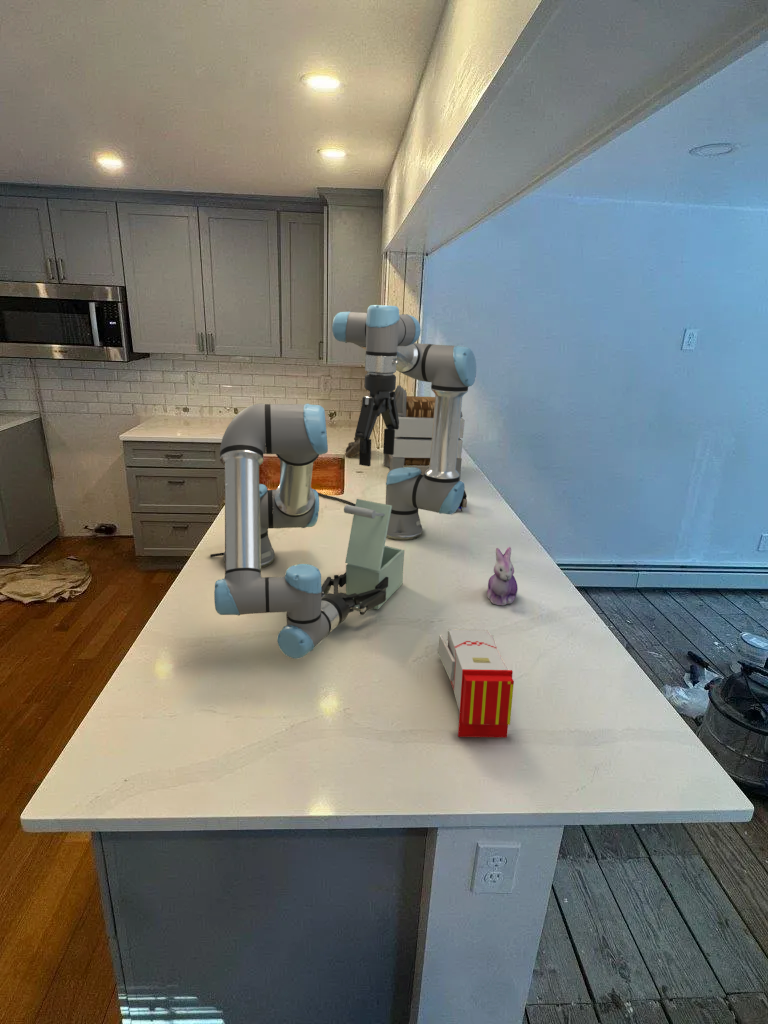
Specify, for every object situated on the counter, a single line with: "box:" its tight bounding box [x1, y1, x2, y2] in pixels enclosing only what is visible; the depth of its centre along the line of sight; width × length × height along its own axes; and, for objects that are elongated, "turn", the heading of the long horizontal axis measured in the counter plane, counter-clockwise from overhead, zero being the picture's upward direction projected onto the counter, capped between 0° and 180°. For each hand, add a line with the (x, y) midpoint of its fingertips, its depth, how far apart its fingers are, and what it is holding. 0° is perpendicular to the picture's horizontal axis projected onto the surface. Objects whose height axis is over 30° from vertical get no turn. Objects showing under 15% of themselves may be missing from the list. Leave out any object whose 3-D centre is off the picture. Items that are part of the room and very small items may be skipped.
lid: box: [343, 498, 392, 571], centre depth 143 cm, size 17×10×9 cm
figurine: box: [486, 546, 518, 606], centre depth 155 cm, size 9×10×15 cm
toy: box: [437, 628, 515, 738], centre depth 117 cm, size 12×13×30 cm
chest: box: [345, 545, 405, 610], centre depth 156 cm, size 16×10×11 cm, turn 155°
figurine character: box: [457, 489, 468, 512], centre depth 228 cm, size 7×8×15 cm
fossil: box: [344, 436, 360, 458], centre depth 304 cm, size 22×10×15 cm
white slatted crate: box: [383, 384, 465, 481], centre depth 268 cm, size 34×33×41 cm
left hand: (369, 577), depth 152 cm, fingers closed on chest, 10 cm apart
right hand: (377, 459), depth 143 cm, fingers open, 13 cm apart
